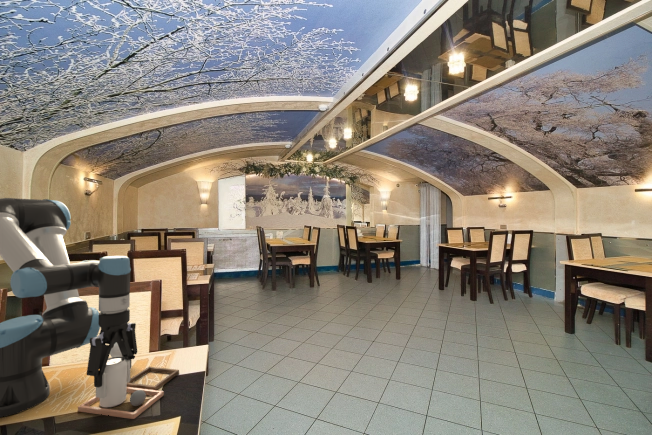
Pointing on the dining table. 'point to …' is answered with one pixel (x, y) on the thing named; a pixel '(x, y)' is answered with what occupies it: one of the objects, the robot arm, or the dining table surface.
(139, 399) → the ball
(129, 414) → the open picture frame
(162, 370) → the brown square frame
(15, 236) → the robot arm
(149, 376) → the dining table surface
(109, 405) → the can
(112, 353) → the spinning top
